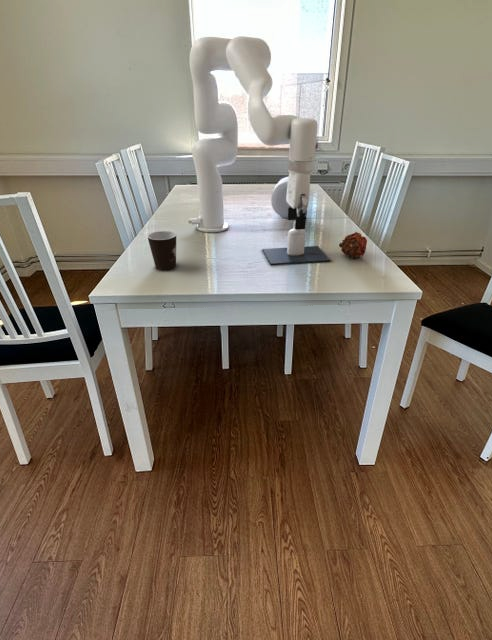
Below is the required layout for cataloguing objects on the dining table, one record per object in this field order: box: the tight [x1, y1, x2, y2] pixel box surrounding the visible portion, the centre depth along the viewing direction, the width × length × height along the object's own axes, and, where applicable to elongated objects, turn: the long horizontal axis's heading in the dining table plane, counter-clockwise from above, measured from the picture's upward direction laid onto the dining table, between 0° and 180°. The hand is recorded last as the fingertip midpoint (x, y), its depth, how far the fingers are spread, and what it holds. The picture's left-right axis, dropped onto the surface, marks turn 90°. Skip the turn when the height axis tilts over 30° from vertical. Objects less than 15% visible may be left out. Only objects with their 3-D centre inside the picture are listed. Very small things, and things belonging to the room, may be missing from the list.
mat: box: [262, 245, 331, 266], centre depth 133 cm, size 20×14×1 cm
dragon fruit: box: [338, 231, 368, 260], centre depth 131 cm, size 8×8×12 cm
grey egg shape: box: [268, 176, 301, 219], centre depth 175 cm, size 19×15×25 cm
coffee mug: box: [146, 230, 177, 272], centre depth 122 cm, size 12×9×10 cm
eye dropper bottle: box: [286, 220, 306, 256], centre depth 129 cm, size 4×6×12 cm
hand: (296, 224), depth 127 cm, fingers open, 9 cm apart
